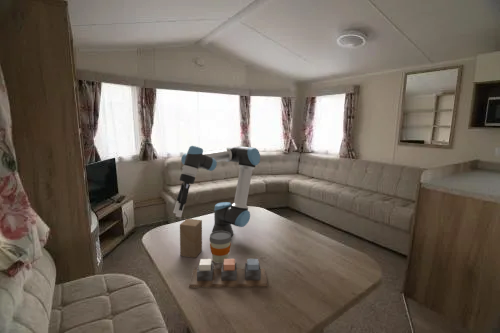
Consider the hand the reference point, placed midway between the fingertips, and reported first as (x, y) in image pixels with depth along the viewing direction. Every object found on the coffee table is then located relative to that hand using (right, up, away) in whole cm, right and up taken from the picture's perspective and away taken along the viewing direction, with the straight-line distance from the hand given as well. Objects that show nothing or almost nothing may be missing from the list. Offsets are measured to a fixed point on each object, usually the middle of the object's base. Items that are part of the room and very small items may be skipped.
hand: (176, 215), depth 128 cm
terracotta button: (+27, -29, 0) cm, 39 cm away
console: (+27, -33, +1) cm, 42 cm away
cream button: (+15, -28, -1) cm, 32 cm away
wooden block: (+2, -28, +25) cm, 38 cm away
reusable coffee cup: (+20, -30, +20) cm, 41 cm away
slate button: (+39, -29, +1) cm, 48 cm away
